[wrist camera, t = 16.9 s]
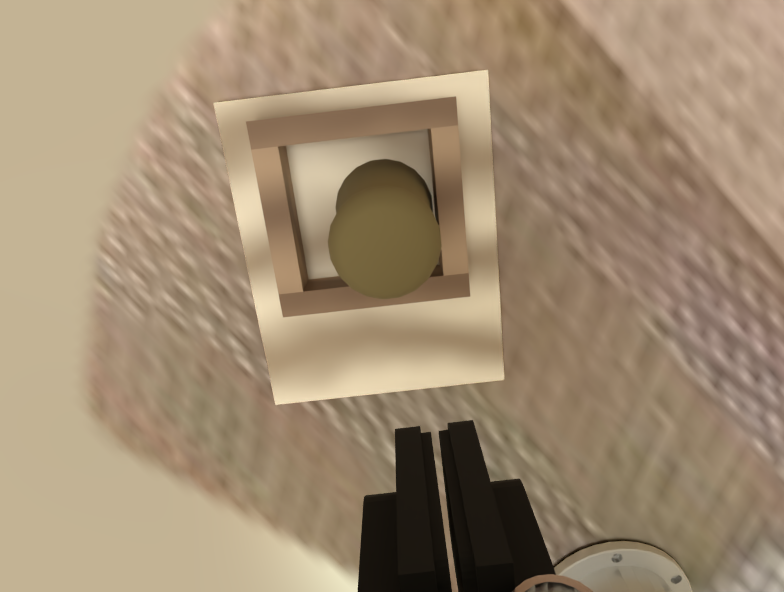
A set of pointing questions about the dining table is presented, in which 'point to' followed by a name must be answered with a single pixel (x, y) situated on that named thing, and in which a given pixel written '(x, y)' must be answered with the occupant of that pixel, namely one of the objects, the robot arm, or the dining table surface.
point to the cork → (384, 230)
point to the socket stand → (317, 210)
